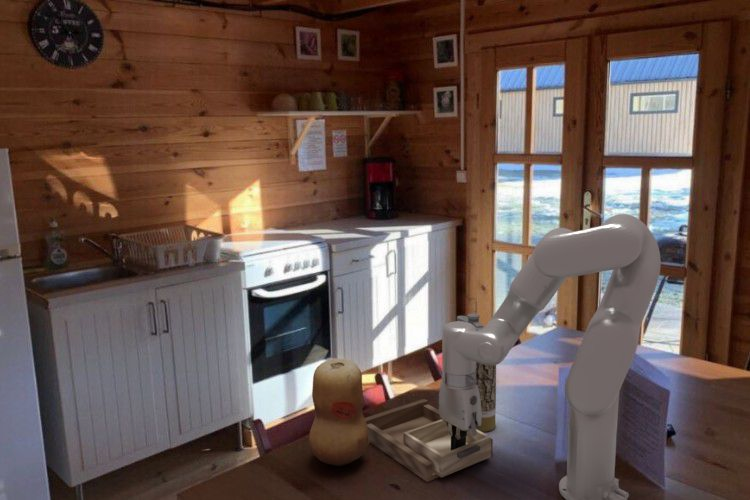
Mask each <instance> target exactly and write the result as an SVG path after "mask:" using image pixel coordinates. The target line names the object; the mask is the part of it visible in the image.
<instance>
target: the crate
mask: <svg viewBox="0 0 750 500" xmlns="http://www.w3.org/2000/svg"><path fill="white" fill-rule="evenodd" d="M476 433H477V434H476V435H475V436H473V437H470V436H467V437H466V445H464V446H462V447H459V448H457V449H454V450H452V451H451V435H450V434H449V429H448V426H447V424H446V423H445V422H444V421H443V420H442V419H441V420H438V421H435V422H432V423H429V424H427V425H424V426H421V427H418V428H415V429H413V430H410V431H407V432H404V433H403V444H404V445H405V446H407V447H408V448H410V449H411V450H413V451H414V452H416V453H417V454H419V455H420V456H422V457H423V458H425V459H427V460H428V461H430V462H431V463H433V472H434V473H436V474H437V475H439V476H440V477H439V478H445V477H446V476H450V475H451V474H453V473H455V472H456V473H457V472H458V471H461V470H463V469H465V468H468V467H470V466H473V465H475V464H477V463H480V462H482V461H484V460H487V459H490V458H491V457H492V455H491V439H492V436H491V435H488V434H486V432H485V433H484V432H481V431H479V430H477V429H476Z"/></svg>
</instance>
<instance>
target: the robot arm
mask: <svg viewBox="0 0 750 500" xmlns="http://www.w3.org/2000/svg"><path fill="white" fill-rule="evenodd" d="M533 249H534V250H533V252H532V253H531V254H530V256H529V258H527V260H526V262H524V265H522V267H521V269H520V270H519V271H518V273H517V274H516V275H515V277H514V278H513V280H512V281H511V283H510V285H509V291H508V293H507V295H506V297H505V298H504V300H503V301H502V303H501V304H500V306H499V307H498V309H497V310H496V311H495V313H494V314H493V316H492V317H491V318H490V319H489V321H488V322H487V323H486V325H484V326H485V327H484V328H483V329H482V330H479V331H476V328H475V327H474V325H472V324H471V323H468V322H462V321H457V320H456V321H451V322H447V323H446V324H445V325H444V326H443V328H442V333H441V335H442V337H441V339H442V343H441V347H442V348H441V350H442V353H441V354H442V356H441V357H442V359H441V360H442V361H441V363H442V364H441V365H442V366H441V367H442V370H441V371H442V372H441V377H442V378H441V381H440V387H439V392H438V393H439V394H438V410H439V415H440V417H441V418H442V420H443V421H444V422H445V423H446V424H447V426H448V429H449V434H450V435H451V451H452V450H454V449H457V448H459V447H462V446H464V445H466V437H467V436H470V437H473V436H475V435H476V434H477V433H476V427H475V426H478V427H479V426H481V401H480V393H479V389H478V385H476V383H477V380H476V362H478V363H481V364H484V365H490V366H493V365H496V366H497V365H499V364H501V363H503V361H504V360H505V359H506V357H507V356H508V354H509V352H510V351H511V350H512V348H513V347H514V346H515V345H516V343H517V341H519V339H520V337H521V336H522V335H523V333H524V332H525V330H526V329H527V328H528V327H529V325H530V323H531V322H532V321H533V320H534V319H535V317H536V316H537V315H538V314H539V313H540V312H541V311H543V310H544V309H545V308H546V307H547V306H548V304H549V303H550V302H551V300H552V299H553V298H554V296H555V294H556V293H557V291H558V290H559V289H560V288H561V287H562V285H564V283H565V281H566V280H567V279H568V278H572V277H578V276H585V275H590V274H595V273H601V272H607V271H612V273H611V275H610V277H609V280H608V282H607V283H606V284H607V285H606V288H605V291H604V294H603V296H602V298H601V300H600V303H599V305H598V307H597V309H596V311H595V313H594V314H593V316H592V317H591V319H590V321H589V323H588V325H587V328H586V330H585V333H584V335H583V337H582V340H581V342H580V345H579V348H578V349H577V353H576V356H575V357H574V359H573V361H572V364H571V366H570V369H569V370H568V371H569V372H568V375H567V377H566V380H565V382H564V393H565V394H564V395H565V399H566V400H567V402H568V404H569V412H568V415H569V416H568V433H567V434H568V436H567V437H568V439H567V462H566V465H567V466H566V475H564V476H563V477H562V478H561V479H560V481H559V484H558V490H559V493H560V495H561V496H562V497H563V498H564V499H565V500H628V498H629V496H630V494H629V492H627V491H625V490H623V489H621V488H620V486H619V485H620V484H619V481H620V479H619V478H616V477H615V471H616V470H615V467H616V452H617V432H618V431H617V430H618V419H619V418H618V415H619V401H620V391H621V388H622V385H623V384H624V381H625V378H626V376H627V374H628V372H629V370H630V367H631V364H632V363H633V360H634V358H635V355H636V352H637V349H638V344H639V339H640V333H641V328H642V327H641V326H642V323H643V321H644V318H645V316H646V314H647V311H648V310H649V307H650V304H651V301H652V299H653V296H654V293H655V291H656V287H657V286H658V281H659V278H660V273H661V265H662V263H661V262H662V261H661V253H660V249H659V245H658V242H657V240H656V238H655V236H654V234H653V233H652V231H651V230H650V228H649V227H648V226H647V225H646V224H645V223H644V222H643V221H642V220H641V219H639V218H638V217H636V216H634V215H631V214H627V213H619V214H615V215H613V216H610V217H609V218H607V219H606V220H605V221H604V222H603V223H602V224H601V225H598V226H594V227H589V228H586V229H585V228H584V229H581V230H576V231H573V230H571V229H569V228H565V227H557V228H554V229H551V230H550V231H548V232H547V233H546V234H545V235H543V236H542V237H541V239H539V241H538V242H537V243H536V245H535V247H534V248H533Z"/></svg>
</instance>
